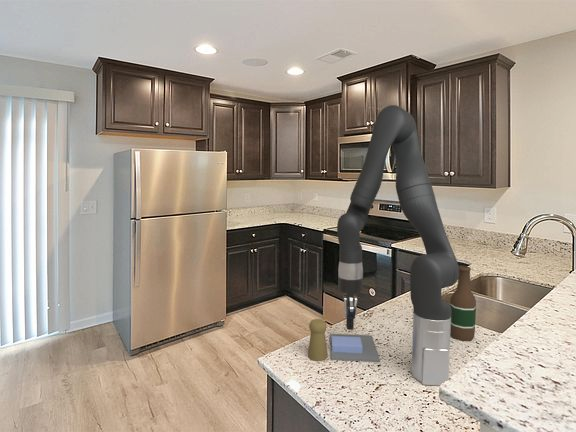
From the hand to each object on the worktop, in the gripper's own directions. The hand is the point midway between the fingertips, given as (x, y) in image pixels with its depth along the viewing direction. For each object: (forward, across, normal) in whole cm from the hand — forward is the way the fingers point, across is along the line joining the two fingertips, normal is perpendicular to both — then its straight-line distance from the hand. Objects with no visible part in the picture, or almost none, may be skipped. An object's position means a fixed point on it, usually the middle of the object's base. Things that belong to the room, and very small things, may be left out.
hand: (349, 328), depth 109 cm
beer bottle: (+6, +9, -38) cm, 39 cm away
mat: (+6, -2, -1) cm, 6 cm away
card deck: (+4, 0, +1) cm, 4 cm away
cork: (+6, -8, +10) cm, 14 cm away
